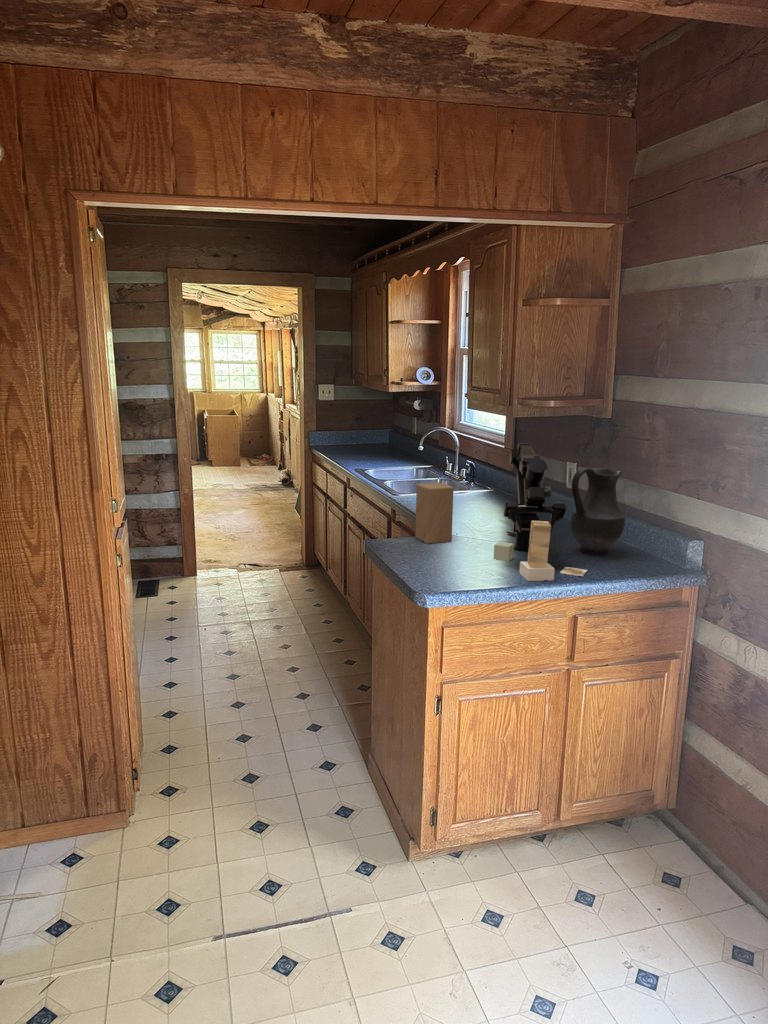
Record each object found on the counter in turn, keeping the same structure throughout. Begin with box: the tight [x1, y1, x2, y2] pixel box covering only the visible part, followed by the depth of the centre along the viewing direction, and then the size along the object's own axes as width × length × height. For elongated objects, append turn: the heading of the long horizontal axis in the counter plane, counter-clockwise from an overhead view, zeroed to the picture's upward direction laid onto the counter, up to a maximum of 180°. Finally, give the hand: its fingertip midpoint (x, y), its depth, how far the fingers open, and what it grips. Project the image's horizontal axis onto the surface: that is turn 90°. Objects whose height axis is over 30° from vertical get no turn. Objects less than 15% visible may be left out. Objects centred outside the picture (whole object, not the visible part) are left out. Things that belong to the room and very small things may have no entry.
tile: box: [559, 566, 588, 578], centre depth 222 cm, size 7×7×1 cm
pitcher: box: [570, 466, 626, 557], centre depth 240 cm, size 17×21×30 cm
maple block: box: [527, 520, 551, 568], centre depth 214 cm, size 5×5×13 cm
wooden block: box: [414, 482, 454, 545], centre depth 257 cm, size 10×10×20 cm
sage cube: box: [493, 541, 515, 562], centre depth 235 cm, size 5×5×5 cm
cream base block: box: [519, 561, 555, 582], centre depth 217 cm, size 8×8×4 cm
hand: (535, 532), depth 221 cm, fingers open, 9 cm apart
